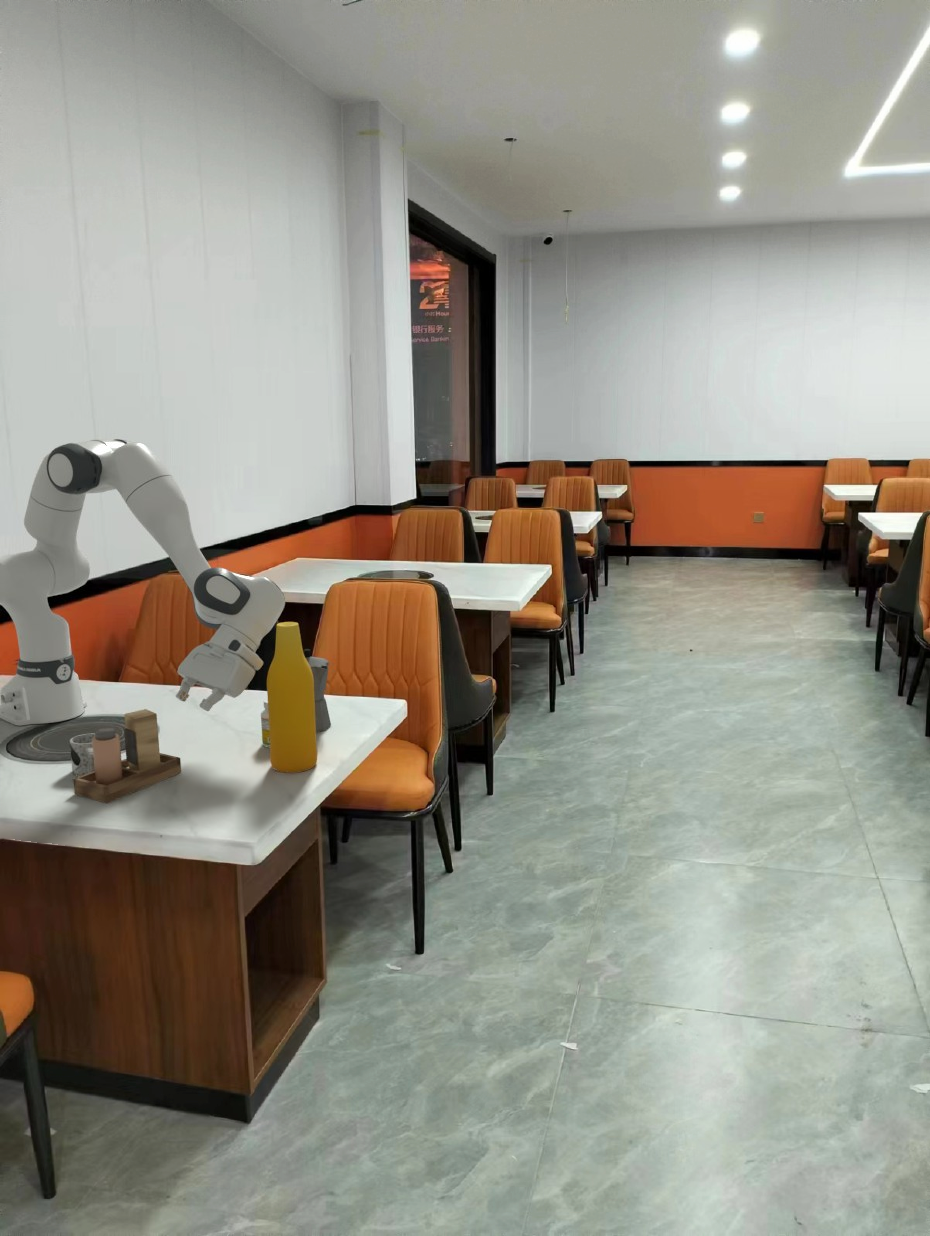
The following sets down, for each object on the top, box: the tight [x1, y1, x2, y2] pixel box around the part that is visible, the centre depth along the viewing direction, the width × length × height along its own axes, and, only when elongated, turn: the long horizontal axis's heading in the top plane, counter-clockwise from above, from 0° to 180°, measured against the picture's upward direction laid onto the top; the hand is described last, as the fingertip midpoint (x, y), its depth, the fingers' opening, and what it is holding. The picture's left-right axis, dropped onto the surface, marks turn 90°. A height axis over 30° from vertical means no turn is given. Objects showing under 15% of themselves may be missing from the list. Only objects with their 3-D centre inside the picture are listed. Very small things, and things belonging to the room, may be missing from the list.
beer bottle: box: [266, 621, 318, 773], centre depth 196 cm, size 9×9×29 cm
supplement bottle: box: [260, 698, 270, 748], centre depth 211 cm, size 5×5×10 cm
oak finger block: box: [123, 708, 161, 772], centre depth 192 cm, size 4×5×11 cm
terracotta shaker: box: [92, 727, 123, 786], centre depth 185 cm, size 5×5×10 cm
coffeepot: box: [303, 648, 332, 733], centre depth 222 cm, size 15×9×18 cm, turn 49°
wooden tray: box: [72, 752, 182, 804], centre depth 190 cm, size 9×18×3 cm, turn 149°
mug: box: [69, 732, 95, 777], centre depth 195 cm, size 10×7×7 cm
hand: (191, 704), depth 199 cm, fingers open, 8 cm apart
